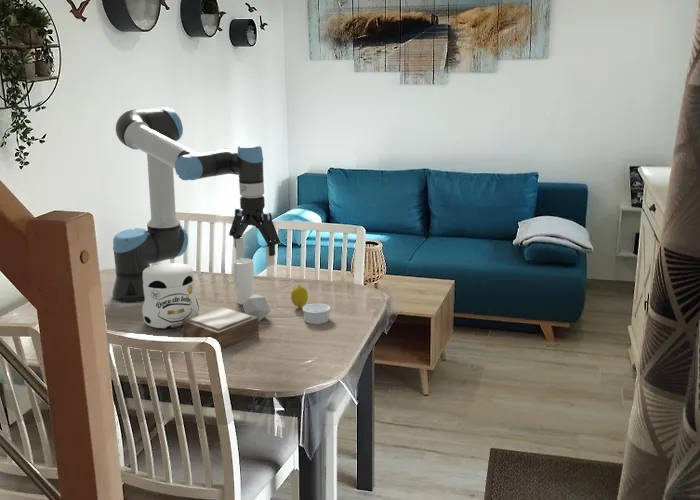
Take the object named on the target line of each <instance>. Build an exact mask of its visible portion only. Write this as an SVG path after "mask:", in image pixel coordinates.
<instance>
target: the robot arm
mask: <svg viewBox="0 0 700 500" xmlns="http://www.w3.org/2000/svg"><path fill="white" fill-rule="evenodd" d="M183 131H184V129H183V123H182V120H181V118H180V116H179V114H178V113H177V112H176V111H175V110H174V109H172V108H170V107H152V108H141V109H140V108H139V109H130V110H127V111H125V112H124V113H122V114H121V115H120V116H119V118H118V119H117V121H116V123H115V133H116V134H115V135H116V136H117V138H118V140H119V142H120V143H122V144H123V145H124V146H126V147H128V148H129V149H132V150H140V151H142V152H144V153H145V154H146V156H147V157H146V160H147V171H148V172H147V173H148V176H147V177H148V191H149V205H150V207H149V208H150V220H149V221H148V222H147V224H146V225H147V228H146V229H145V228H141V227H134V228H128V229H124V230H122V231H120V232H118V233H117V234H115V235H114V236H113V239H112V243H113V244H112V251H113V256H114V266H115V279H114V280H115V281H114V284H113V285H114V286H113V289H112V299H113V300H114V301H115V302H118V303H123V304H124V303H125V304H131V303H132V304H133V303H142V302H144V290H143V271H144V270H145V269H146V268H148V267H150V266H151V264H152V265H153V264H156V263H158V262H163V261H167V260H168V261H169V260H173V259H175V258H178V257H181V256H183V254H184V253H186V251H187V249H188V246H189V235H188V233H187V230H186V228H185V227H184V226H182V225H181V221H180V220H178V219H177V215H176V197H175V179H174V171H175V174H176V175H177V176H178V178H179V179H181V180H182V181H196V180H199V179H204V178H205V179H206V178H211V177H218V176H223V175H235V176H236V175H237V176H238V183H239V184H238V185H239V195H240V197H239V205H240V208H235V210H234V216H233V217H234V218H233V220H232V223H231V226H230V230H229V233H228V235H229V236H230V237H233V240H234V248H235V257H236V259H235V260H237V259H245V250H244V249H245V247H244V245H245V244H244V243H245V242H244V238H243V237H244V236H243V234H244V233H245V231H246V230H247V228H248V226H252V227H255V228H256V229H258V231H259V232H260V234H261V237H262V238H263V239H264V242H265V243H266V245H265V262H266V267H271V266H275V255H276V245H279V244H280V243H281V241H280V238H279V235H278V232H277V230H276V227H275V225H274V221H273V219H272V213H271V212H267V213H264V208H265V205H266V204H265V203H266V201H265V196H264V195H265V182H264V181H265V179H264V154H263V149H262V147H261V145H258V144H242V145H239V146H238V147H237V150H236V149H229V148H216V149H215V150H214V151H207V152H206V151H205V152H197V151H195V150H193V149H191V148H189V147H187V146H184V145H183V144H181V143H179V142H177V141H179V140H181V138H182V136H183Z"/></svg>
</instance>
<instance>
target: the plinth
mask: <svg viewBox="0 0 700 500" xmlns="http://www.w3.org/2000/svg"><path fill="white" fill-rule="evenodd" d="M182 323H183V328H182V336H183V338H184V337H212V338H214V339H216V340H217V341H218V342H219V344H220V346H221V349H222V350H224V349H223V348H225V349H227V348H230V347H232V346H234V345H236V344H238V343H241V342H244V341H246V340H248V339H251V338H254V337H255V336H258V335H259V334H260V331H259V330H260V329H259V322H258V317H255V316H252V315H249V314H246V313H245V312H242V311H239V310H235V309H233V308H230V307H226V306H224V305H223V306H219V307H216V308H214V309H211V310H208V311H206V312H202V313H200V314H199V313H198V315H197V316H194V317H191V318H188V319H185V320H183V321H182ZM231 345H232V346H231ZM226 347H227V348H226Z"/></svg>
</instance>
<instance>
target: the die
mask: <svg viewBox="0 0 700 500" xmlns="http://www.w3.org/2000/svg"><path fill="white" fill-rule="evenodd" d="M242 308H243V311H244V313H246V314H249V315H252V316H255V317H258V323H259V322H260V321H262V320H263V319H264V318H265V317H266V316H267V315H269V314H270V313H271V308H270V304H269V301H268V299H267V298H266V297H265V296H264V295H260V294H257V293H253V295H252V296H251V297H250V298H249V299H248V300H247V301H245V302H244V303H243V305H242Z"/></svg>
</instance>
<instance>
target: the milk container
mask: <svg viewBox="0 0 700 500" xmlns="http://www.w3.org/2000/svg"><path fill="white" fill-rule="evenodd" d="M194 275H195V274H194V269H193V267H192V266H191V265H189V264H186V263H178V262H171V263H170V262H169V263H167V262H166V263H160V264H159V263H158V264H155V265H154V264H153V265H152V266H151V265H150V267H148V268H146V269H145V270H144V271H143V290H144V301H143V303H142V308H141V309H142V311H141V312H142V318H143V321H144V323H145V325H147V326H148V327H150V328H151V329H155V330H162V331H169V330H170V331H171V330H173V331H174V330H178V329H183V323H182V321H183V320H185V319H188V318H191V317H194V316H197V315H199V313H200V309H199V307H200V306H199V302H198V299H197V296H196V291H195V276H194Z"/></svg>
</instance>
